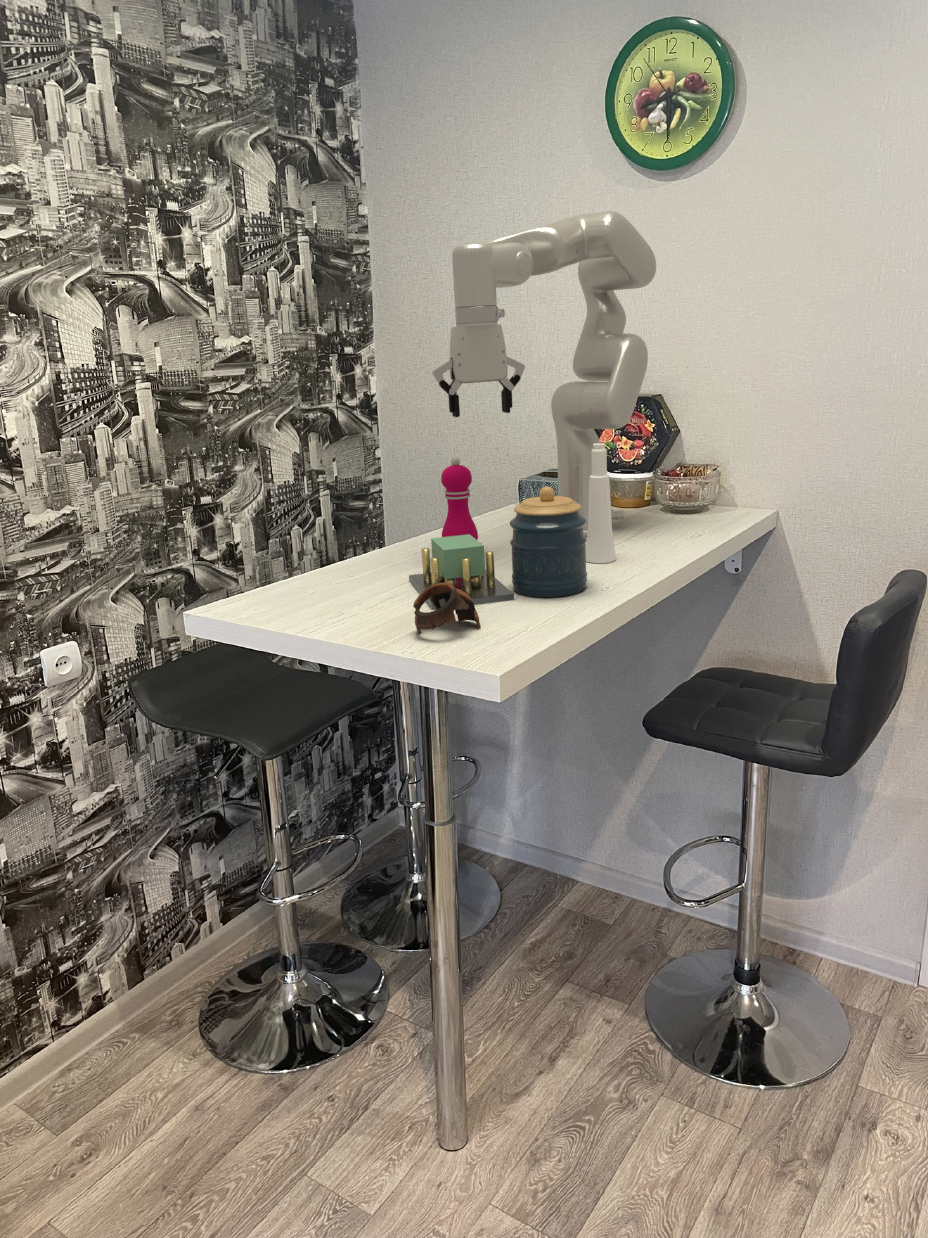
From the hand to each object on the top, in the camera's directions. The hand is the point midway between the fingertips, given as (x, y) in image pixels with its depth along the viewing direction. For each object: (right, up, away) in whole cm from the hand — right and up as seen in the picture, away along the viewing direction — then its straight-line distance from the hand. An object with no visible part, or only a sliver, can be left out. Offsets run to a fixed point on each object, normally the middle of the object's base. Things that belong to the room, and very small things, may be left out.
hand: (481, 414), depth 173 cm
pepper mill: (-4, -26, +13) cm, 29 cm away
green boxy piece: (-4, -29, -10) cm, 31 cm away
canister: (+12, -33, -12) cm, 37 cm away
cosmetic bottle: (+23, -27, +5) cm, 36 cm away
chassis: (-4, -33, -10) cm, 34 cm away
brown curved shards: (-6, -40, -30) cm, 50 cm away
